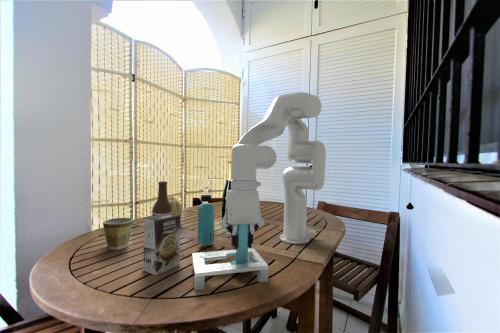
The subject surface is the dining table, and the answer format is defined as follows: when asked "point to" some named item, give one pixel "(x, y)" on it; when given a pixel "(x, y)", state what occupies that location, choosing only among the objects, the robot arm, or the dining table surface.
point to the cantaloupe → (173, 206)
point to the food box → (161, 243)
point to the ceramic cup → (117, 232)
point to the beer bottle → (162, 201)
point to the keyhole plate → (226, 265)
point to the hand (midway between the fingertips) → (242, 246)
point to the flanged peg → (242, 245)
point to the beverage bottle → (206, 222)
